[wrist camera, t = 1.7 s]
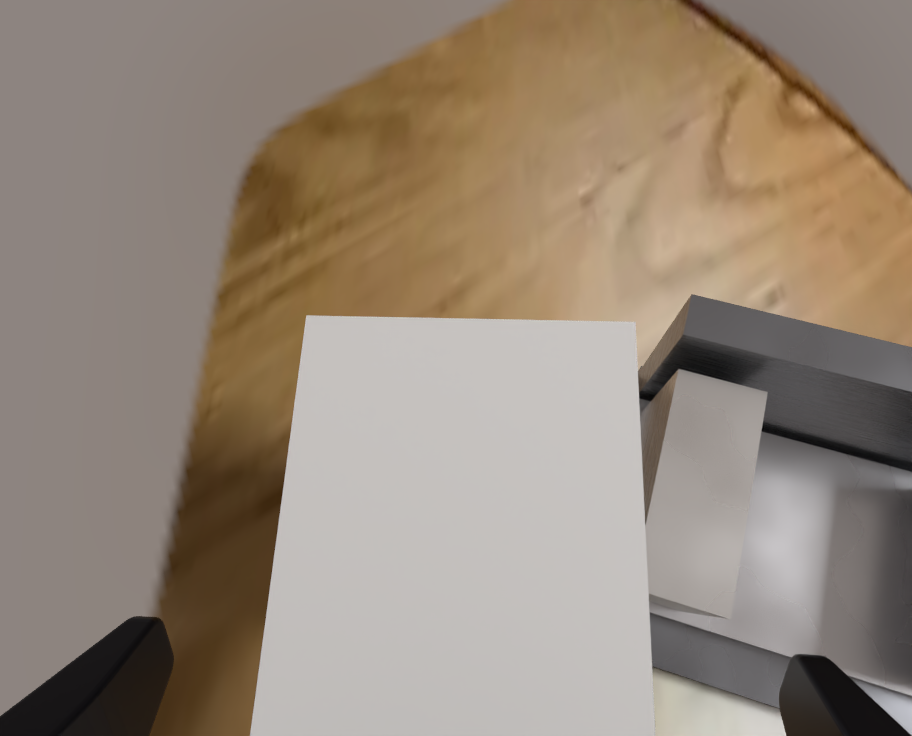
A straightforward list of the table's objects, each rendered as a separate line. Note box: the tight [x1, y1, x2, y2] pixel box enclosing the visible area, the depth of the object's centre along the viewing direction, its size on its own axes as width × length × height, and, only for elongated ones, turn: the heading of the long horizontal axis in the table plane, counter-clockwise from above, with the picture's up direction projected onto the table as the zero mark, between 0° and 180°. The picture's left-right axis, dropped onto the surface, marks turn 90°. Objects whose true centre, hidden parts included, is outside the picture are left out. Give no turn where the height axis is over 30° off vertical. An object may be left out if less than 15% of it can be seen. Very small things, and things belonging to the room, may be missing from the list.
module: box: [250, 316, 655, 736], centre depth 12 cm, size 5×4×12 cm
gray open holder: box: [638, 294, 912, 735], centre depth 15 cm, size 8×10×6 cm
